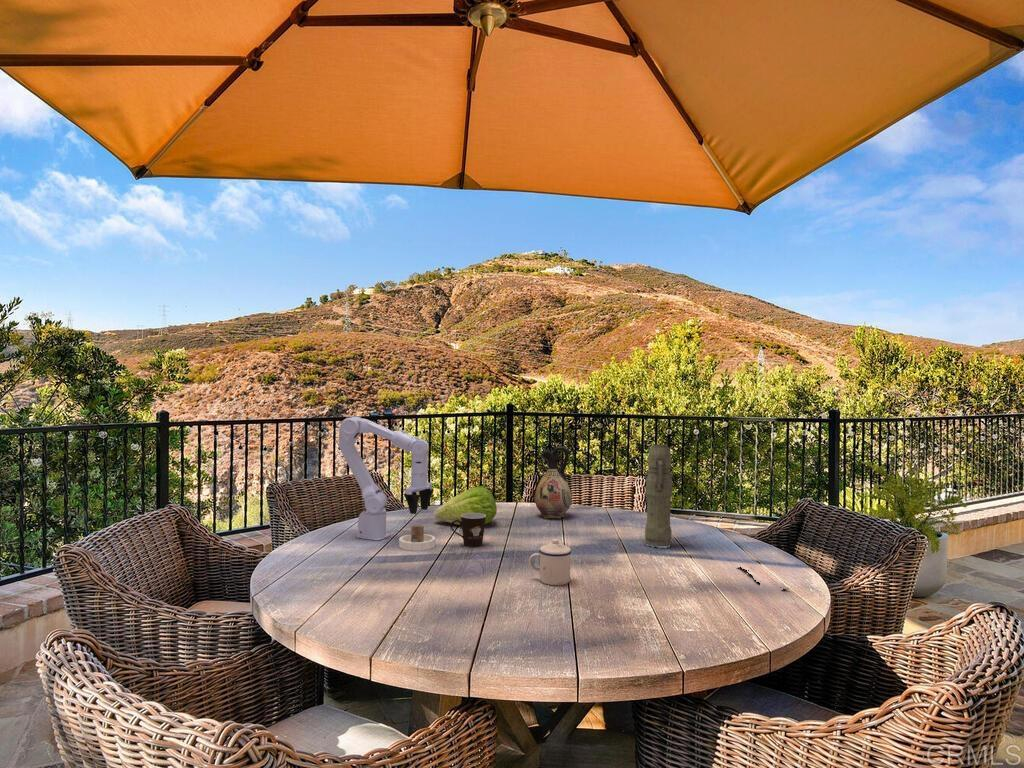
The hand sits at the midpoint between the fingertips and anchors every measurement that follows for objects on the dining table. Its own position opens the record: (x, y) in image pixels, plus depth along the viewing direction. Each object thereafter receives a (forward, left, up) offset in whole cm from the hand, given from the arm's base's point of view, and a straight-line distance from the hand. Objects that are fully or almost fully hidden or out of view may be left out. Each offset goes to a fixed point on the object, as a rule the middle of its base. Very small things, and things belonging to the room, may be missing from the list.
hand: (418, 511), depth 210 cm
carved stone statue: (+80, +28, -10) cm, 85 cm away
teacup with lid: (+57, -23, -10) cm, 62 cm away
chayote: (+6, +26, -10) cm, 28 cm away
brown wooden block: (+5, -9, -9) cm, 14 cm away
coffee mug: (+20, 0, -10) cm, 22 cm away
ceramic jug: (+34, +53, -10) cm, 64 cm away
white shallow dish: (+5, -9, -9) cm, 14 cm away
